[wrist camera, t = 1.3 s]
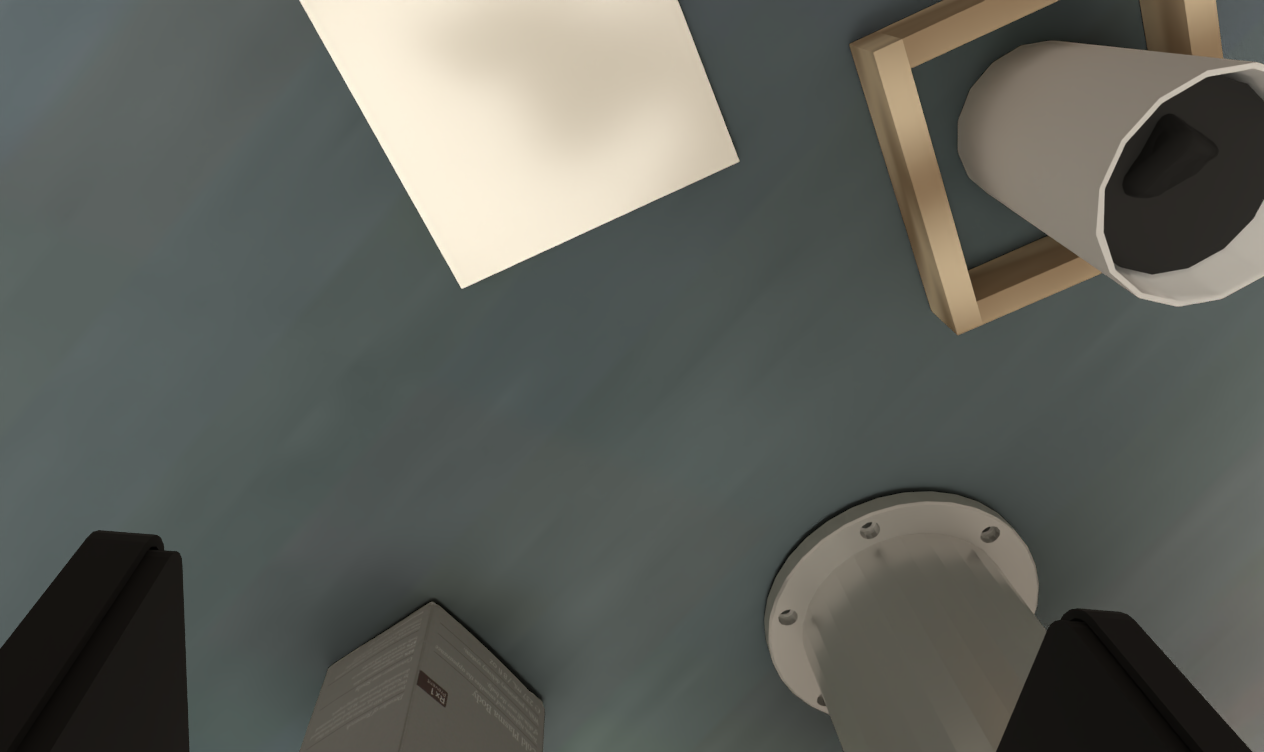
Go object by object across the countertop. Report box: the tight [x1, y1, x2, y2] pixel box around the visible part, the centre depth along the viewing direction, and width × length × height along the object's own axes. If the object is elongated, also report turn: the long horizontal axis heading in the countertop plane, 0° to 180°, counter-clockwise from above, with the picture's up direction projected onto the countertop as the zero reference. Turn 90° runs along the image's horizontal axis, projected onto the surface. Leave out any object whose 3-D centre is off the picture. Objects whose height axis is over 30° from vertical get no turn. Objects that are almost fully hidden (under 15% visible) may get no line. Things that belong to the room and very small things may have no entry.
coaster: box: [300, 0, 740, 289], centre depth 31 cm, size 11×11×1 cm
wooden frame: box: [849, 0, 1223, 335], centre depth 33 cm, size 11×11×2 cm
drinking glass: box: [958, 40, 1264, 307], centre depth 30 cm, size 7×7×10 cm
